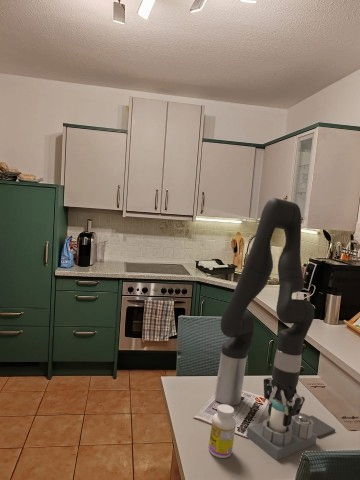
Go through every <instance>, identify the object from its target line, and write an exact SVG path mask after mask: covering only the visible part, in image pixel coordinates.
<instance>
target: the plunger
mask: <svg viewBox="0 0 360 480" xmlns="http://www.w3.org/2000/svg"><path fill="white" fill-rule="evenodd" d="M309 416H310V415H308V414H306V413H303V412H300V413H299V414H298V415H297V416H296V421H298V422H299V423H301V424H305V425H308V424H309V423H310V417H309Z"/></svg>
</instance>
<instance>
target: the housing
mask: <svg viewBox="0 0 360 480" xmlns="http://www.w3.org/2000/svg"><path fill="white" fill-rule="evenodd" d="M296 416H297V415H295V416H292V420H291V424H290V425H289V426H287V428H286V433H279V432H274V431H273V430H271V429H270V428H269V422H270V417H268V418H266V419H263V421H262V422H258V423H256V424H252V425H250V426H249V425H248V426H247V429H246V430H247V431H246V437H247V438H248V439H249V440H250V441H251V442H253V443H254V444H255V445H256V446H258V447H259V448H260V449H261V450H263V451H264V452H265V453H267V455H269V456H270V457H271V458H273V459H274V460H275V461H278V460H281V459H283V458H285V457H288V456H290V455H293V454H295V453H298V452H300V451H303V450H305V449H308V448H310V447H313V446H315V445H316V444H317V439H318V438H317V434H315V433H314V432H312V431H313V421H312V420H311V419H310V423H309V424H308V425H305V424H301V423H299V422H298V421H296Z"/></svg>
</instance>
